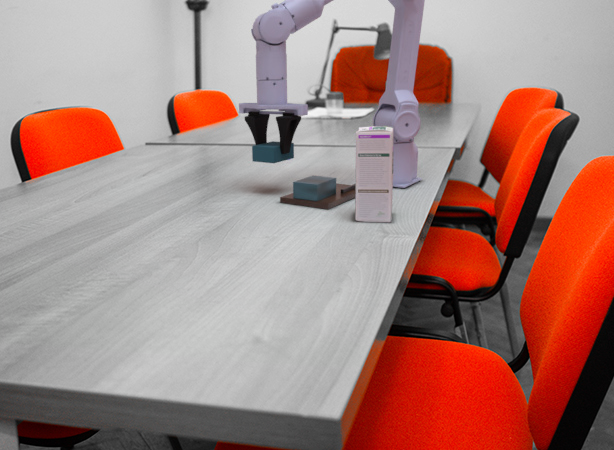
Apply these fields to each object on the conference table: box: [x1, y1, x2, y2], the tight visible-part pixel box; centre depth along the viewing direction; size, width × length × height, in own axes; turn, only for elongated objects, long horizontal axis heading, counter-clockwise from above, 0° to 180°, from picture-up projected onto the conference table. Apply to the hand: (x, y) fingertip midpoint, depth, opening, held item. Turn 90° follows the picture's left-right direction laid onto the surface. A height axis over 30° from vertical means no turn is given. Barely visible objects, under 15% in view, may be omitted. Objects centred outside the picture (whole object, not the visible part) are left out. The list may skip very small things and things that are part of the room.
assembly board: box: [279, 175, 356, 210], centre depth 107 cm, size 16×10×4 cm, turn 145°
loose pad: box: [251, 140, 295, 164], centre depth 110 cm, size 7×5×3 cm
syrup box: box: [354, 125, 394, 223], centre depth 91 cm, size 6×6×14 cm
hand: (273, 152), depth 110 cm, fingers closed on loose pad, 5 cm apart
